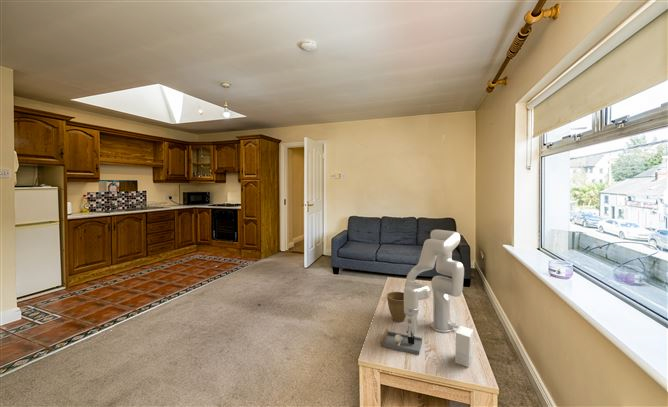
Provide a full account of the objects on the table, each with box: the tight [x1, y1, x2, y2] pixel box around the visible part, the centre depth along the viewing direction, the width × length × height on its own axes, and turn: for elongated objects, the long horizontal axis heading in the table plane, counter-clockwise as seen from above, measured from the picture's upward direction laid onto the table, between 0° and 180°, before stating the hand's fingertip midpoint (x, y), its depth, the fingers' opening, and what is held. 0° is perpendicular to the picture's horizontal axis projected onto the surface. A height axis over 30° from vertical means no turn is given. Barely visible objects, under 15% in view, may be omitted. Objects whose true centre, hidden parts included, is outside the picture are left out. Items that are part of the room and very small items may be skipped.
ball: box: [395, 334, 402, 343], centre depth 149 cm, size 4×4×4 cm
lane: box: [380, 328, 423, 356], centre depth 148 cm, size 20×13×4 cm, turn 65°
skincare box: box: [454, 325, 474, 368], centre depth 132 cm, size 8×7×16 cm
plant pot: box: [386, 291, 406, 323], centre depth 175 cm, size 15×15×16 cm
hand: (411, 343), depth 146 cm, fingers closed
